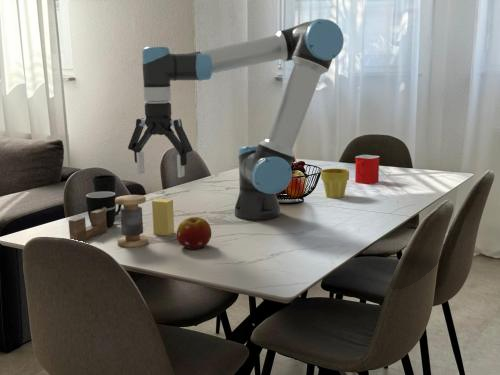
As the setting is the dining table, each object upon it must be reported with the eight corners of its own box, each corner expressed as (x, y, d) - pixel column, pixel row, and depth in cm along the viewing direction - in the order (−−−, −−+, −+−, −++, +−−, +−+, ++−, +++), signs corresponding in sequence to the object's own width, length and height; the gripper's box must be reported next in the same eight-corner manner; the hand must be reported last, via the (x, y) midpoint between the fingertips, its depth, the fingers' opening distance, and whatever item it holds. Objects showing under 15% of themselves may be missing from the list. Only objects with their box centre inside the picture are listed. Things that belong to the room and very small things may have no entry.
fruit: (182, 253, 161) (181, 224, 159) (172, 244, 169) (171, 217, 167) (216, 248, 164) (215, 220, 163) (205, 240, 172) (204, 213, 171)
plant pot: (317, 198, 223) (317, 172, 221) (324, 192, 232) (325, 167, 230) (345, 200, 219) (345, 173, 217) (351, 194, 228) (351, 169, 226)
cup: (111, 214, 204) (109, 179, 201) (90, 213, 205) (88, 178, 203) (121, 208, 211) (119, 175, 209) (100, 208, 213) (98, 174, 210)
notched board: (107, 232, 182) (105, 209, 181) (77, 245, 170) (75, 220, 168) (100, 231, 183) (99, 208, 182) (70, 244, 170) (68, 220, 169)
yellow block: (174, 232, 181) (172, 199, 179) (168, 235, 178) (166, 202, 176) (159, 230, 183) (158, 198, 181) (153, 233, 180) (152, 201, 178)
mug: (100, 231, 183) (98, 198, 181) (82, 226, 189) (79, 195, 187) (130, 223, 192) (129, 191, 190) (112, 218, 198) (110, 188, 196)
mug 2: (362, 179, 257) (363, 154, 255) (380, 181, 252) (381, 156, 250) (348, 183, 248) (348, 158, 246) (366, 186, 243) (367, 160, 241)
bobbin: (153, 240, 173) (151, 196, 170) (137, 248, 165) (134, 202, 163) (128, 237, 176) (126, 194, 173) (111, 245, 168) (108, 200, 166)
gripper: (202, 101, 171) (204, 175, 175) (128, 100, 181) (132, 170, 185) (190, 103, 164) (192, 180, 169) (113, 102, 174) (117, 174, 178)
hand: (160, 175), depth 177 cm, fingers open, 13 cm apart
